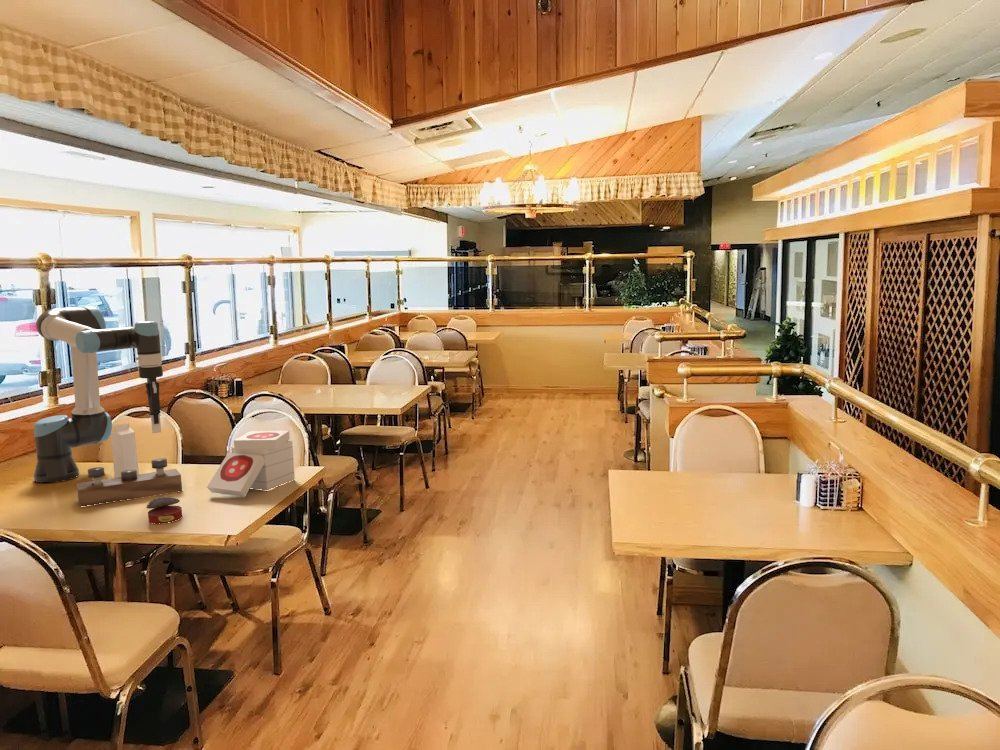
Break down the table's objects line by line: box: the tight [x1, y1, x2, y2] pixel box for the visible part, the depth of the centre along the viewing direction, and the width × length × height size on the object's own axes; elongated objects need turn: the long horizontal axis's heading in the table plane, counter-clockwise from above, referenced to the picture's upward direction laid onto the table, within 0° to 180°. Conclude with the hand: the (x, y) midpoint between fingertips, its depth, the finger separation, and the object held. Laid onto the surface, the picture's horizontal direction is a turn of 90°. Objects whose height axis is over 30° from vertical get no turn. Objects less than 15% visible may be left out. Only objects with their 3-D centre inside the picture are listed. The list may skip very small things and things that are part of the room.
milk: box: [110, 422, 140, 478], centre depth 291 cm, size 6×6×22 cm
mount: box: [76, 468, 183, 508], centre depth 274 cm, size 10×32×6 cm, turn 121°
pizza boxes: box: [206, 430, 296, 498], centre depth 279 cm, size 19×30×18 cm, turn 156°
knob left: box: [87, 466, 106, 486], centre depth 269 cm, size 5×5×7 cm
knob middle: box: [121, 470, 137, 481], centre depth 274 cm, size 5×5×7 cm
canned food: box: [145, 496, 183, 525], centre depth 248 cm, size 11×10×10 cm
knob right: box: [151, 457, 168, 476], centre depth 279 cm, size 5×5×7 cm
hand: (156, 432), depth 277 cm, fingers closed
